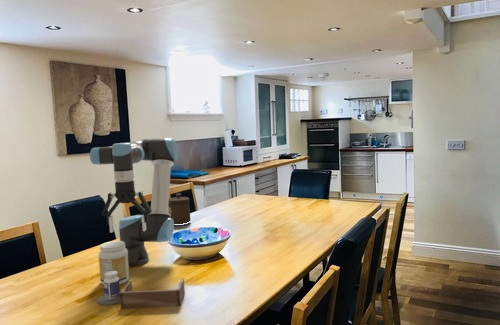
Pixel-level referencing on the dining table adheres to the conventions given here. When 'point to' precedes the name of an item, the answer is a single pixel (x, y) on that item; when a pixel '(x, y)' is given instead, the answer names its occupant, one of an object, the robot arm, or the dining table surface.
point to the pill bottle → (111, 285)
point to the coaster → (108, 301)
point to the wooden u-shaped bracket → (151, 297)
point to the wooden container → (179, 209)
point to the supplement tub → (114, 260)
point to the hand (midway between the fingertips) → (128, 231)
